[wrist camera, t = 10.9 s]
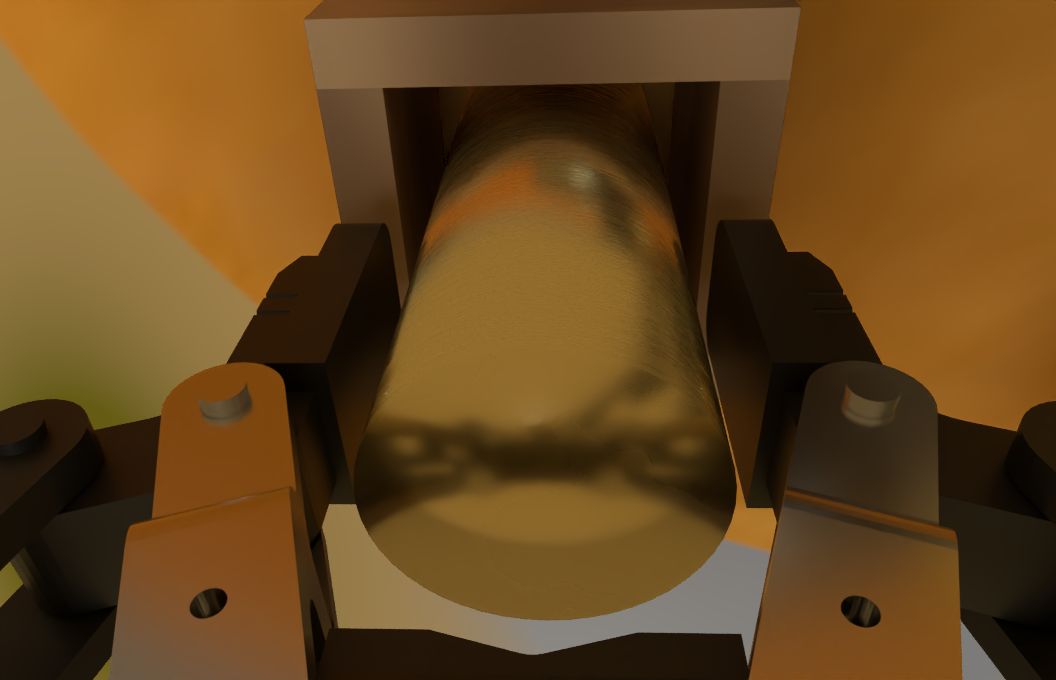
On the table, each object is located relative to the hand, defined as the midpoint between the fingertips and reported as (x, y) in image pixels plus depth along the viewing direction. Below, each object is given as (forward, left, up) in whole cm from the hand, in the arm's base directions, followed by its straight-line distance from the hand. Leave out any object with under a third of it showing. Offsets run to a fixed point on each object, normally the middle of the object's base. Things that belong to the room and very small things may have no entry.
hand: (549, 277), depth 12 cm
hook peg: (0, 0, -6) cm, 6 cm away
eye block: (0, 0, -6) cm, 6 cm away
